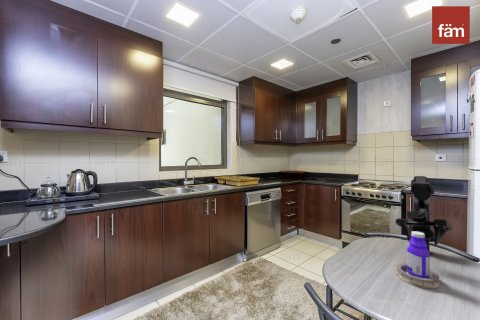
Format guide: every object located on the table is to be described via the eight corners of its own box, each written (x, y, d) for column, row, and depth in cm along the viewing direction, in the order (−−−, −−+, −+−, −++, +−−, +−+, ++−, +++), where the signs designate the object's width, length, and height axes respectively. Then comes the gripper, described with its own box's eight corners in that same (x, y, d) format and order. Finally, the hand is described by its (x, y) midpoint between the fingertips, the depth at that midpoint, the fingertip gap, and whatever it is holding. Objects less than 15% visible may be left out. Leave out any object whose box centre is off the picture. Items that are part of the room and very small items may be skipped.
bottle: (433, 280, 84) (433, 235, 84) (421, 282, 83) (421, 236, 82) (414, 270, 91) (414, 229, 91) (403, 272, 90) (403, 230, 89)
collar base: (390, 269, 94) (390, 262, 94) (424, 271, 92) (424, 264, 92) (409, 287, 81) (409, 279, 81) (448, 289, 79) (448, 281, 79)
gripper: (389, 202, 104) (388, 235, 98) (438, 201, 88) (440, 240, 82) (402, 211, 108) (401, 243, 102) (451, 210, 92) (454, 248, 86)
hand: (422, 243), depth 93 cm, fingers open, 9 cm apart
